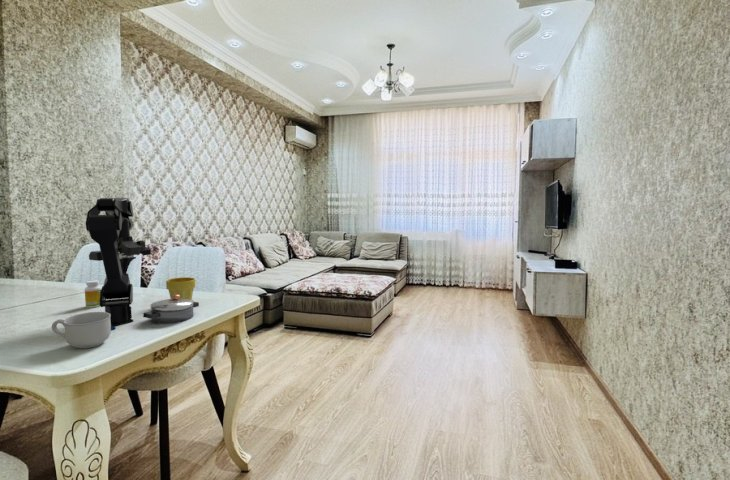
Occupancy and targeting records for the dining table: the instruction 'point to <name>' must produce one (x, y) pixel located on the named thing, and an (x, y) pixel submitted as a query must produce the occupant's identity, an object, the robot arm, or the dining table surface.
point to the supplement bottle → (92, 294)
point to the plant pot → (181, 287)
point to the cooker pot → (171, 315)
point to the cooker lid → (172, 304)
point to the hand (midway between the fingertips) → (122, 277)
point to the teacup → (85, 329)
